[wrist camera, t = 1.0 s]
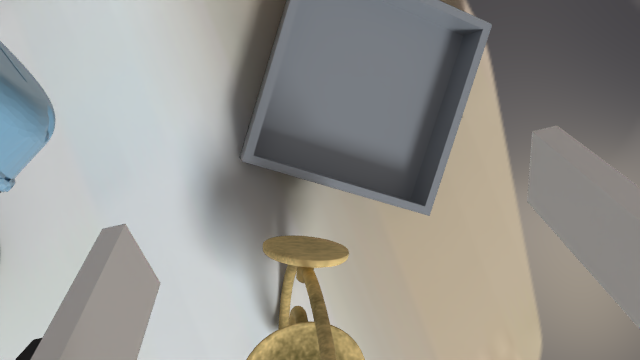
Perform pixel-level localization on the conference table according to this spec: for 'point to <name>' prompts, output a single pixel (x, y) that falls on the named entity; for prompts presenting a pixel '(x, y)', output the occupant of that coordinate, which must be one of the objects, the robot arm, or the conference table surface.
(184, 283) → the conference table surface
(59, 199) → the conference table surface
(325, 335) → the wall sconce
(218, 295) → the conference table surface
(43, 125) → the robot arm
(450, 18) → the tray
